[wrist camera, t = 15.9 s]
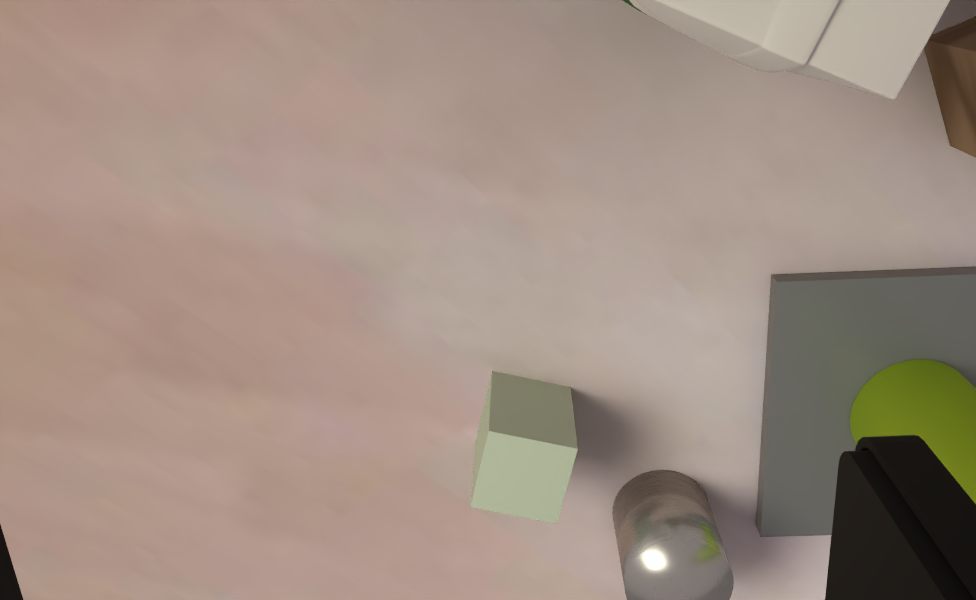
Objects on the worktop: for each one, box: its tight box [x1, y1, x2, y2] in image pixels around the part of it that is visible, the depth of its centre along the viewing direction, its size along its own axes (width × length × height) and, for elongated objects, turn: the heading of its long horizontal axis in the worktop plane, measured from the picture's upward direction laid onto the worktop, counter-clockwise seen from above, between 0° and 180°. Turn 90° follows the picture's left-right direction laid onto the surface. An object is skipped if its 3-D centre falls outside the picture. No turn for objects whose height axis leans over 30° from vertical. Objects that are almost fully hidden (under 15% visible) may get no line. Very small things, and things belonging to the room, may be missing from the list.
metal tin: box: [612, 470, 733, 600], centre depth 46 cm, size 5×5×6 cm
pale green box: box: [470, 371, 578, 524], centre depth 44 cm, size 4×4×6 cm
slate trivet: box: [756, 267, 976, 537], centre depth 45 cm, size 14×14×1 cm
